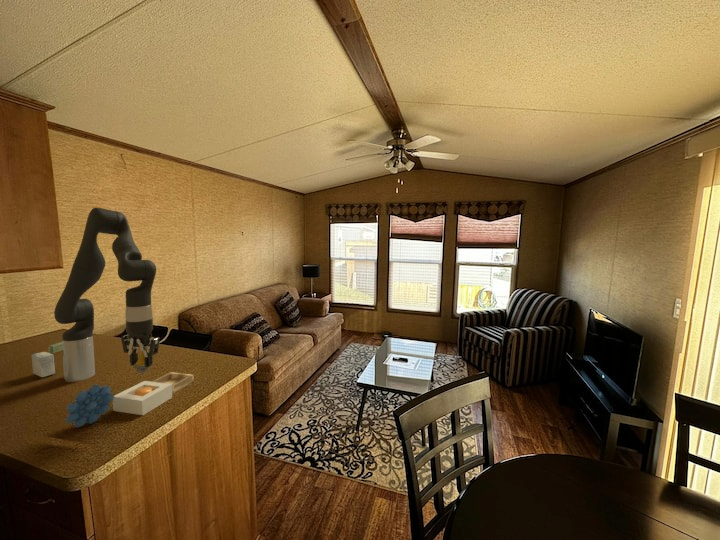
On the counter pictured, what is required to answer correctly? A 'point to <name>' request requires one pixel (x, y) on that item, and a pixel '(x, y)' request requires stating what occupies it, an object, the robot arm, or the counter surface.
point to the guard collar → (142, 398)
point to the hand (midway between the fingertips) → (141, 365)
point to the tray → (176, 380)
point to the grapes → (89, 405)
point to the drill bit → (141, 364)
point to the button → (143, 391)
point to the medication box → (55, 347)
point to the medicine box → (43, 364)
